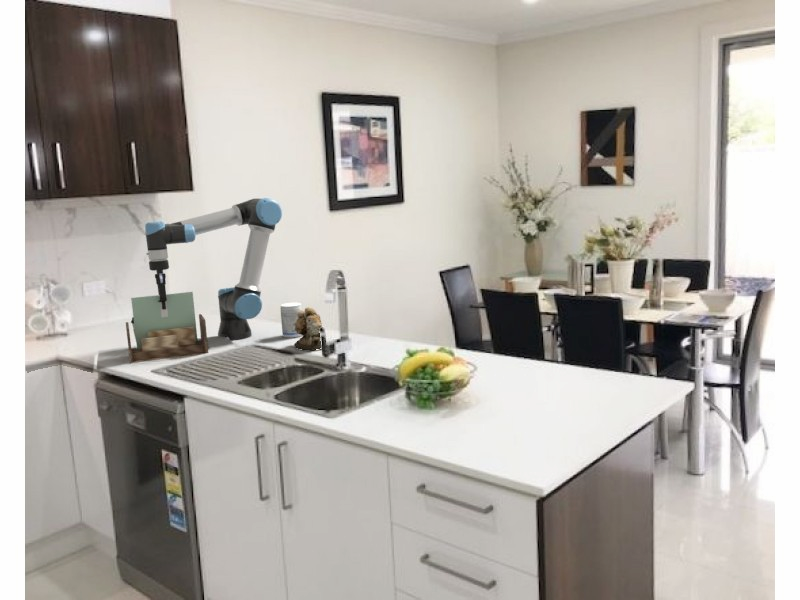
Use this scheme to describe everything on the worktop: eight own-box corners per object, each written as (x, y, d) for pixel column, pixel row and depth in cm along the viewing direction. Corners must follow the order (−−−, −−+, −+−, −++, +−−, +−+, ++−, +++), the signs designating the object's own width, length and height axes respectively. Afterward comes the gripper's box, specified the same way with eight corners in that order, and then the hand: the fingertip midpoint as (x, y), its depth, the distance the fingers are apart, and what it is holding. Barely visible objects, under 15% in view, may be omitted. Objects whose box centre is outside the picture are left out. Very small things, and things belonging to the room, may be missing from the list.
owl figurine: (286, 346, 295) (283, 307, 292) (309, 341, 302) (306, 303, 299) (309, 352, 281) (307, 311, 278) (333, 347, 289) (330, 307, 286)
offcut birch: (179, 353, 283) (177, 334, 282) (179, 354, 282) (177, 335, 281) (143, 358, 278) (140, 338, 277) (143, 358, 277) (141, 339, 275)
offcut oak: (195, 349, 288) (193, 326, 287) (196, 350, 287) (193, 327, 286) (150, 355, 282) (147, 331, 280) (150, 356, 281) (148, 332, 279)
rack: (204, 349, 295) (201, 314, 292) (208, 356, 282) (205, 319, 279) (129, 359, 284) (125, 322, 281) (130, 366, 271) (126, 328, 268)
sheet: (197, 342, 291) (192, 291, 287) (197, 343, 290) (192, 292, 286) (137, 350, 282) (131, 297, 279) (137, 351, 281) (131, 298, 278)
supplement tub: (290, 333, 320) (288, 302, 318) (307, 334, 316) (305, 302, 314) (278, 337, 312) (275, 305, 309) (295, 338, 308) (293, 306, 305)
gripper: (147, 259, 285) (154, 314, 289) (149, 262, 272) (156, 320, 276) (166, 257, 288) (172, 312, 292) (169, 260, 275) (175, 318, 279)
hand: (164, 316), depth 284 cm, fingers closed on sheet
